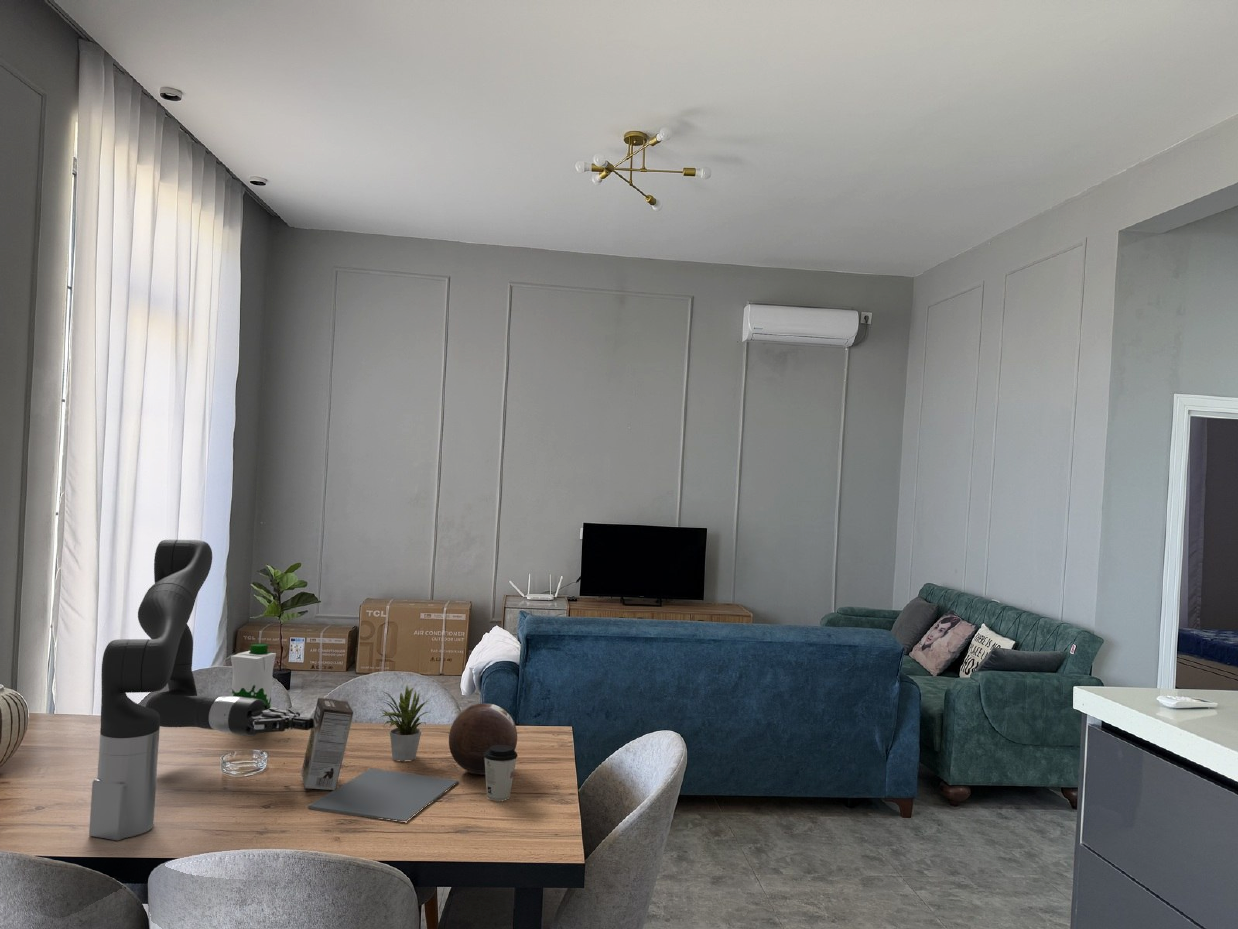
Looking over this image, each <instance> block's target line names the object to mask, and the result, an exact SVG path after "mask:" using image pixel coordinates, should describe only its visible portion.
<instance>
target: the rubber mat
mask: <svg viewBox="0 0 1238 929" xmlns="http://www.w3.org/2000/svg"><path fill="white" fill-rule="evenodd" d="M457 782H458V783H459V779H453V778H452V779H451V778H443V777H437V776H429V775H424V774H423V775H422V774H416V773H415V774H414V773H408V772H401V771H394V770H387V769H380V768H372V767H371V768H369V769H367V770H366V771H364V772H362V773H360V774H359V775H356V776H355V777H354V778H352V779H350V780H349V781H347V782H345V783H344V784H342V785H340V786H338V787H336V789H335V790H331V791H330V792H329V793H327V794H326V795H323V796H322V797H320V798H319V799H317V800H315V801H313V802H311V804H308V805H307V809H309V808H311V809H310V810H315V809H316V811H321V812H328V811H330V813H335V814H343V815H348V814H350V816H354V815H359V816H358V817H361V816H364V817H363V818H367V817H371V818H370V819H374V818H383V819H390V820H397V821H407V820H408V819H409V818H411V817H412V816H413V815H414V814H416V813H417V812H418V811H420V810H421V809H422V808H424V807H425V806H426V805H428V804H429V803H431V802H432V801H434V800H435V799H436V798H437V797H439V796H440V795H441V794H443V793H444V792H445V791H446V790H448V789H449V788H450V787H452V786H453V785H454V784H456V783H457ZM458 783H457V784H458ZM457 784H456V785H457ZM453 787H454V786H453ZM453 787H452V788H453ZM449 790H450V789H449ZM449 790H448V791H449ZM445 793H446V792H445ZM445 793H444V794H445ZM444 794H443V795H444ZM440 797H441V796H440ZM440 797H439V798H440ZM436 800H437V799H436ZM436 800H435V801H436ZM435 801H434V802H435ZM431 804H432V803H431Z"/></svg>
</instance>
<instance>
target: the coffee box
mask: <svg viewBox="0 0 1238 929" xmlns="http://www.w3.org/2000/svg"><path fill="white" fill-rule="evenodd" d="M353 716H354V711H353V709H352V707H351V706H350V704H349V702H348V701H347V700H346V701H345V700H338V699H333V698H324V697H318V698H317V702H316V705H315V709H314V714H313V728H311V729H310V733H309V737H308V742H307V747H306V751H305V754H304V759H303V764H302V769H301V772H300V774H301V778H302V781H303V785H304V788H306V789H311V790H312V789H314V790H327V791H328V790H330V791H334V790H335V789H337V785H338V781H339V776H340V773H341V772H340V771H341V768H342V764H343V759H344V756H345V751H346V747H347V743H348V739H349V734H350V731H351V725H352V720H353Z"/></svg>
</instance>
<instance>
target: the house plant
mask: <svg viewBox="0 0 1238 929" xmlns="http://www.w3.org/2000/svg"><path fill="white" fill-rule="evenodd" d="M413 691H414V693H413ZM381 692H382V693H385V694H386V695H385V696H387V697H390V700H391V701H392V702H390V701H388V700H385V699H384V701H385V702H386V704H387V706H389V707H390V709H392V711H393V712H388V711H386V710H383V709H381V711H383V713H382V715H380V717H379V719H380V718H384V717H387V719H388V720H386V721H385V722H384V725H383V726H385V725H387V724H389V725H390V726H389V728H391V727H392V726H394V725H395V726H396V727H394V728H391V729H390V730H389V737H390V748H391V759H392V758H393V759H392V760H393V761H394V760H400V761H405V760H413V759H415V758H417V753H418V749H419V745H420V740H421V735H422V730H421V729H420V728H418V727H419V726H420V725H421V724H425V725H427V723H426V722H419V721H420V719H421V718H420V717H422V716H423V715H425V714H428V713H430V714H431V713H432V714H433V712H432V711H425V712H423V713H421V714H420V715H418V714H419V713H420V711H421V709H422V708H423V706H424V705H425V704H427V702H429V699H427V700H426V701H424V702H423V703H421V704H420V705H419V702H420V693H418V694H417V690H416V689H415V690H414V687H413V688H411V689H409V686H408V685H406V686H405V690H404V692H405V693H404V696H403V693H402V692H400V694H399V702H398V704H397V702H396V700H395V698H393V696H391V694H389V693H388V692H385V691H382V690H380V693H381ZM412 694H413V696H412ZM412 697H413V698H412ZM411 698H412V702H411ZM376 700H377V701H379V700H380V701H383V698H382V699H376ZM418 705H419V706H418ZM417 716H418V717H417ZM393 718H394V719H395V720H394V719H393ZM415 760H416V759H415ZM413 761H414V760H413Z"/></svg>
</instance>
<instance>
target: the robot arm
mask: <svg viewBox="0 0 1238 929" xmlns="http://www.w3.org/2000/svg"><path fill="white" fill-rule="evenodd" d="M154 552H155V553H154V563H153V574H154V575H153V578H154V579H153V580H154V583H153V584H152V585H151V586H150V587H149V588H148V589H147V591H146V592H145V594H144V596H143V598H142V601H141V602H140V605H139V607H138V609H137V610H138V611H137V619H138V623H139V625H140V627H141V628H142V630H143V632H144V633H145V634H146V635H147V636H148V637H149V638H150V639H148V638H147V639H146V638H139V639H137V638H135V639H133V638H132V639H131V638H128V639H127V638H126V639H125V638H121V639H113V640H111V641H110V642H108V644H107V645H106V647H105V649H104V652H103V656H102V661H101V674H100V675H101V700H100V701H101V702H100V703H101V705H100V708H101V709H100V728H99V729H100V731H99V732H100V734H99V747H98V748H99V749H98V759H97V760H98V761H97V762H98V764H97V774H96V776H97V778H96V779H93V780H92V782H91V784H92V785H91V787H92V788H91V799H90V812H89V813H90V815H89V830H88V836H89V837H96V838H102V839H107V840H113V841H121V840H123V839H126V838H131V837H135V836H138V835H142V834H145V833H148V831H150V830H152V828H154V825H155V824H154V823H155V822H154V821H155V805H156V791H157V790H156V788H157V774H158V759H159V756H158V755H159V746H160V745H159V744H160V743H159V742H160V730H161V729H160V728H161V727H162V728H200V729H204V730H205V729H206V730H210V731H211V730H213V731H219V732H221V733H227V734H233V735H242V736H249V737H251V736H253V737H254V736H256V735H258V734H261V733H262V734H263V733H264V734H266V733H278V732H282V733H283V732H285V731H286V730H288V731H291V730H293V729H294V730H302V731H309V730H311V728H313V718H314V717H313V718H312V717H307V716H301V711H298V710H297V709H296V708H294V707H292V706H287V707H286V709H279V708H278V707H272V706H271V708H269V709H268V707H267V706H266V704H265V702H264V701H263V700H261V699H254V698H246V697H237V696H232V695H228V696H227V695H224V696H223V695H217V694H199V695H198V692H197V686H196V683H195V682H196V681H195V678H194V677H195V676H194V674H193V668H192V667H193V654H194V638H193V633H192V631H191V628H190V626H189V625H188V623H189V620H190V618H191V615H192V612H193V610H194V607H195V603H196V600H197V596H198V594H199V592H200V590H201V589H202V586H203V585H204V583H205V582H206V580H207V577H208V575H209V573H210V570H211V568H212V562H213V551H212V548H211V546H210V544H209V543H208V542H206V541H205V540H198V539H162V540H161V541H160V542H159V543H158V544H157V546H156V549H155V551H154ZM166 686H168V690H167V691H163V692H158V691H162V690H163V689H164V688H166ZM156 692H158V693H156ZM128 693H129V694H130V693H133V694H134V693H156V694H154V695H152V697H150V698H149V699H148V700H147V702H146V703H145V704H146V705H145V706H143V705H141V704H138V703H137V702H135V701H133V700H132V699H131V698H130V697H128V695H127V694H128Z"/></svg>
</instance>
